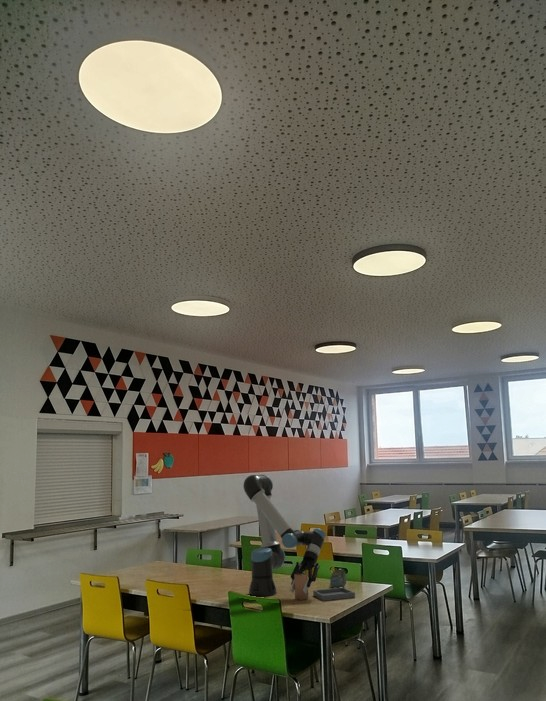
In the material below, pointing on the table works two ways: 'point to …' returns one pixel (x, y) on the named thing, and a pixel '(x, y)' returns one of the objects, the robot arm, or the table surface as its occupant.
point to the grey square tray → (333, 593)
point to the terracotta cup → (300, 586)
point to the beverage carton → (338, 579)
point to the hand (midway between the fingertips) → (298, 591)
